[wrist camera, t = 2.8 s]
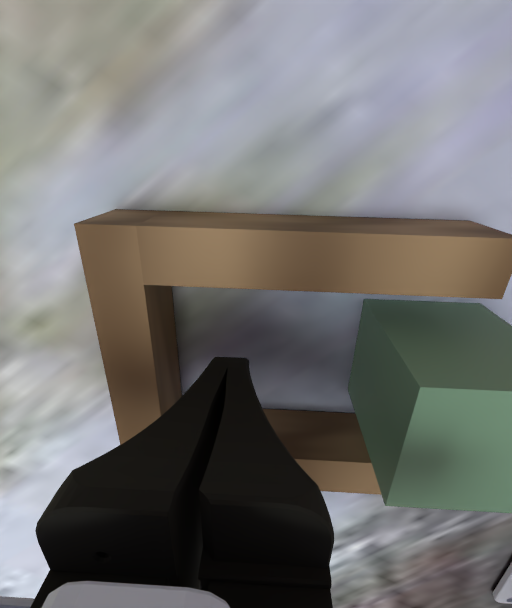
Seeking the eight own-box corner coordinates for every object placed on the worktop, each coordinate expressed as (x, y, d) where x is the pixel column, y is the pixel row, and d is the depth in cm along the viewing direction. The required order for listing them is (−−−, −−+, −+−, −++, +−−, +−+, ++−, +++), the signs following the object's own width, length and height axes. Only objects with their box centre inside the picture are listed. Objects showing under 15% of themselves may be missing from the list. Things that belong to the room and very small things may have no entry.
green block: (479, 303, 14) (609, 396, 9) (448, 393, 16) (537, 514, 11) (363, 298, 14) (420, 387, 9) (347, 388, 16) (385, 505, 11)
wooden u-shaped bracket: (469, 220, 13) (524, 239, 10) (403, 444, 18) (427, 497, 15) (115, 209, 13) (74, 223, 10) (149, 430, 18) (127, 479, 15)
